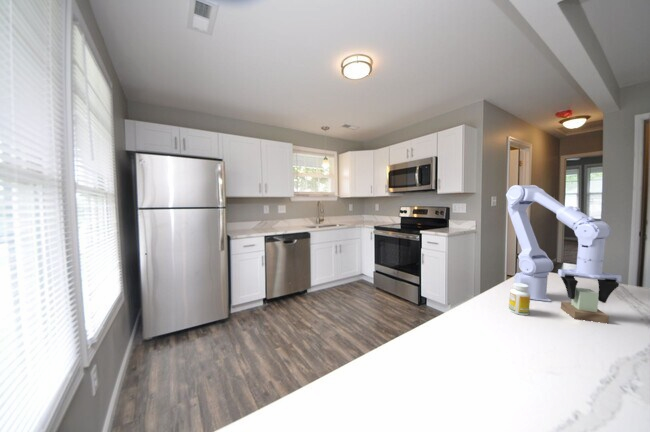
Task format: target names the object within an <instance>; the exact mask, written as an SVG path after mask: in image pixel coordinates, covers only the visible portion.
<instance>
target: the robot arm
mask: <svg viewBox="0 0 650 432" xmlns="http://www.w3.org/2000/svg"><path fill="white" fill-rule="evenodd" d="M505 197H506V200H507V211H508V214H509V217H510V221H511V223H512V226H513V229H514V232H515V235H516V238H517V240H518V243H519V246H520V249H521V252H520V253H519V254H518V255H517V257H518V268H519V269H520V271H521V272H516V273H515V275H514V282H513V283H523V284H526V285H528V290H527V291H528V292H529V293H530V300H535V301H541V302H543V301H544V302H550V303H551V302H552V299H550V298H549V297H547V290H548V277H549V273H551V272H552V271H553V269H554V262H553V261H552V259H550V258H549V256H548V255H547V253H546V252H545V251H544V250H543V249H541V248H540V246H539V245H540V244H539V243H538V240H537V237H536V235H535V233H534V230H533V227H532V225H531V221H530V219H529V216H528V214H527V209H528V208H529V207H530V206H531V205H532V204H533V203H535V202H536V203H538V204H539V205H541V206H543V207H544V208H546V209H548V210H550V211H551V212H553V213H554V214H556V219H557V220H558V221H560V222H561V223H562V224H564V225H565V226H567V227H568V228H570V229H572V230H573V231H574V235H575V237H576V238H577V244H578V245H577V246H578V247H577V254H576V255H577V256H576V267H575V269H572V268H571V269H563V268H560V269H557V270H558V271H557V273H558V274H557V275H558V276H560V277H559V278H561V281H562V283H563V284H564V287H565V289H566V293H567V297H568V298H569V299H570V300H572V299H574V298H575V289H576V288H577V285H578V283H579V281H578V280H577V279H576V278H578V279H579V278H581V279H592V280H597V283H598V292H597V293H598V294H599V296H598V302H601V304H606V303H607V300H608V298H609V297H610V295H611V294H612V293H613V291H615V290H616V289H617V288H618V287H619V285H620V283H621V282H622V275H620V274H619V273H612V272H611V273H610V272H603V269H604V260H605V259H604V258H605V250H606V249H605V248H606V239H607V238H609V237H610V235H611V234H612V229H611V226H609V224H608V223H606V222H605V221H601V220H595V219H596V218H595V217H593V216H590V215H589V216H588V215H587V214H585V213H583V212H582V211H580V210H581V208H580V207H577V206H571V205H569V206H565V205H564V204H562V203H561V202H560V201H558V200H557V199H555V198H554V197H552V196H551V195H550V194H548V193H547V192H546V191H545V190H544V189H543V188H540V187H539V186H537V185H535V184H531V185H519V184H515V185H512V186H510V187H509V188H508V191H507V192H506V194H505Z"/></svg>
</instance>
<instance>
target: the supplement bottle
mask: <svg viewBox="0 0 650 432" xmlns="http://www.w3.org/2000/svg"><path fill="white" fill-rule="evenodd" d="M512 287H513V288H510V290H509V303H508V310H509V311H510V312H511V313H513V314H515V315H518V316H519V315H520V316H528V315H529V313H530V306H531V305H530V304H531V299H530V293H529V292H528V291H527V290H528V285H526V284H523V283H514V282H513V283H512Z"/></svg>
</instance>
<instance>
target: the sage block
mask: <svg viewBox="0 0 650 432" xmlns="http://www.w3.org/2000/svg"><path fill="white" fill-rule="evenodd" d="M598 293H599V292H597V291H595V290H592V289H591V288H582V287H576V289H575V298H574V299H570V300H571V302H570V303H571V305H573V306H574V307H576V308H577V309H578V310H584V311H591V312H597V309H599V308H598V307H599V306H598V305H599V300H598V296H599V294H598Z"/></svg>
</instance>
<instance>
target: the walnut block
mask: <svg viewBox="0 0 650 432" xmlns="http://www.w3.org/2000/svg"><path fill="white" fill-rule="evenodd" d="M560 309H561V310H562V311H563V312H564V313H566V314H567V315H568V314H569V316H570V318H572V319H573V318H574V319H573V320H577V321H583V320H585V322H591V321H593V322H592V323H598V322H600V323H601V324H606V323H607V324H609V317H610V315H608V314H606V313H605V312H604V311H602V310H600V309H599V308H597V312H591V311H584V310H578V309H577V308H576V307H574V306H573V305H571V302H568V301H561V302H560ZM600 323H599V324H600ZM607 324H606V325H607Z"/></svg>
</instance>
